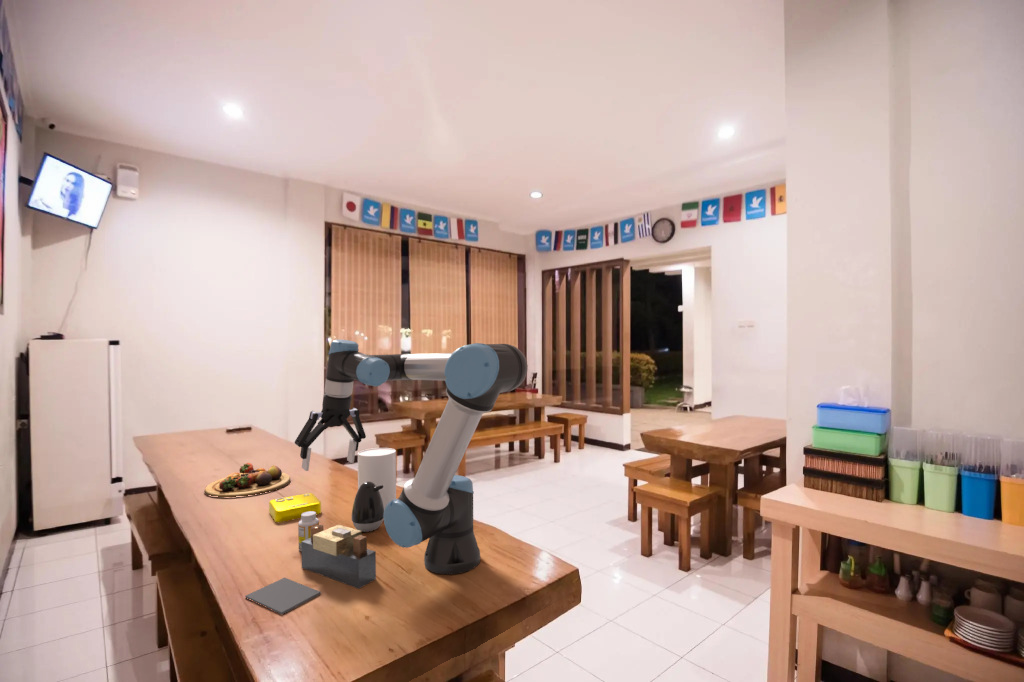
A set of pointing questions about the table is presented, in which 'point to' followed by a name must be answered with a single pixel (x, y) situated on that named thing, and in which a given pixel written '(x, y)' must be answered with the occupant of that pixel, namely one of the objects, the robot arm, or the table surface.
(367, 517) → the pump dispenser
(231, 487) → the wooden plate with food
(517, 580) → the table surface
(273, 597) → the rubber mat
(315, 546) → the lever cap
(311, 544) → the plane body
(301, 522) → the supplement bottle
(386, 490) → the canister
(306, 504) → the element tile
